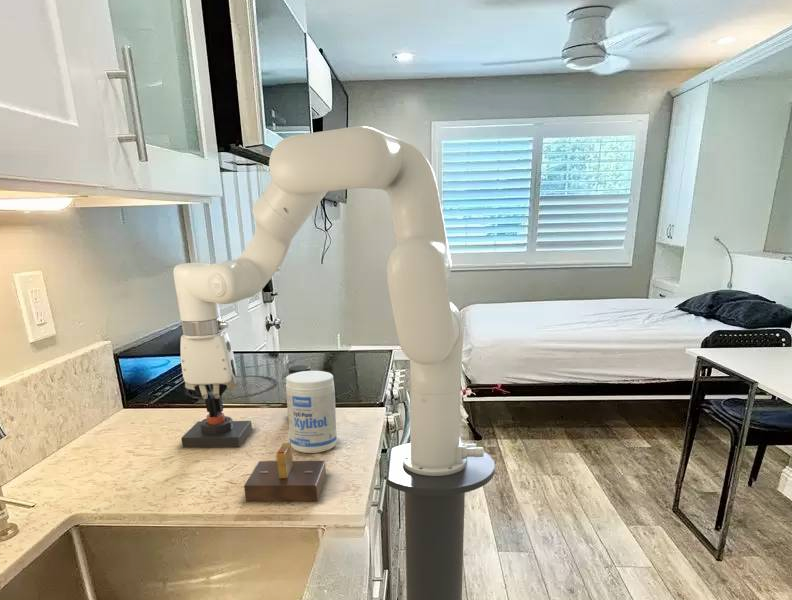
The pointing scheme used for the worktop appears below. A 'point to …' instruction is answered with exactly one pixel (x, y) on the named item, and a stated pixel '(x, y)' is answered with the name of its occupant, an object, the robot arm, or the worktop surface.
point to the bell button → (215, 419)
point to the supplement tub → (311, 411)
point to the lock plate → (285, 482)
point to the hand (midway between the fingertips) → (215, 414)
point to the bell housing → (217, 434)
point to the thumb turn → (284, 460)
